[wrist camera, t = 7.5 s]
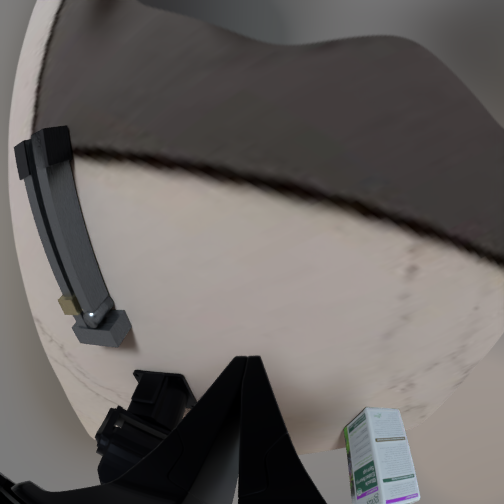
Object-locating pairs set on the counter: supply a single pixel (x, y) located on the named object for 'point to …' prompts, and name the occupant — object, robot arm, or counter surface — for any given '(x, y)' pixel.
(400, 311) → the counter surface
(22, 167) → the tongs
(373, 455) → the syrup box
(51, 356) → the counter surface
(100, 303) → the tongs arm
